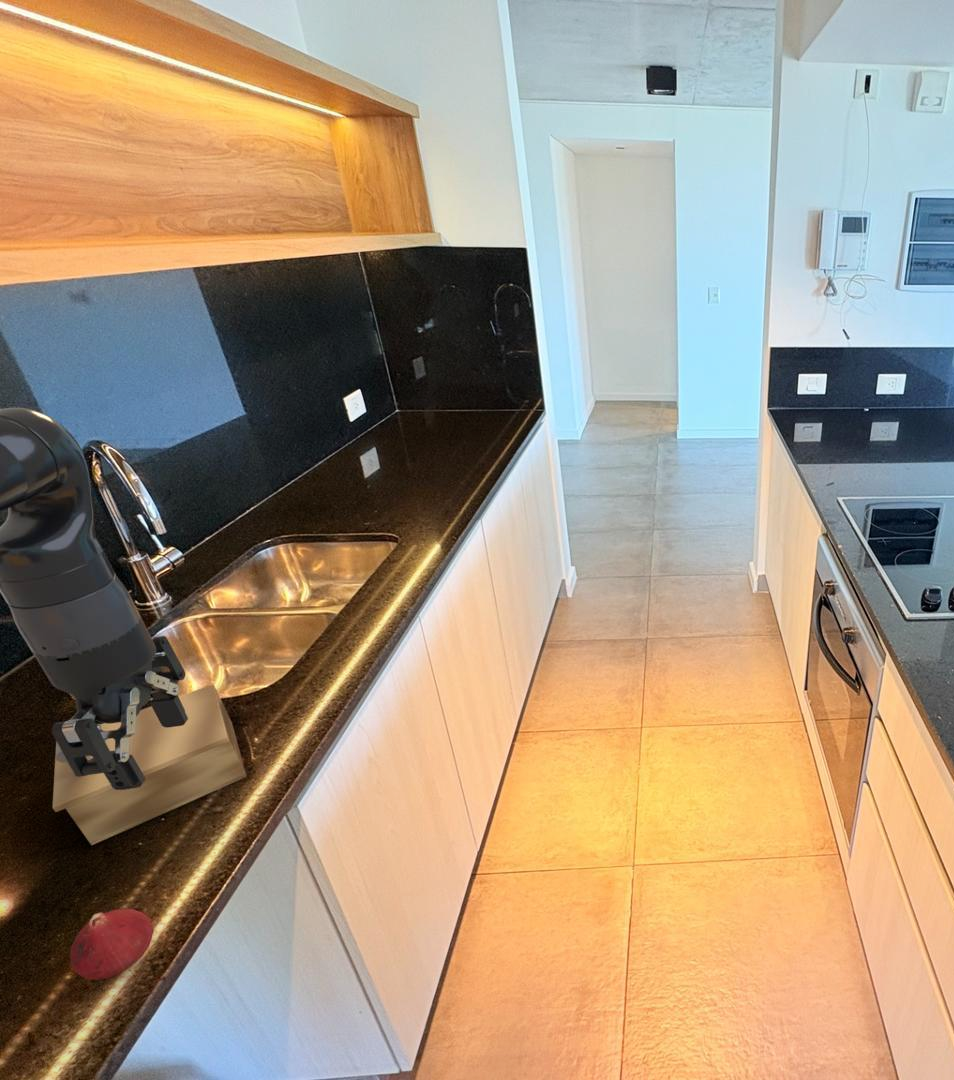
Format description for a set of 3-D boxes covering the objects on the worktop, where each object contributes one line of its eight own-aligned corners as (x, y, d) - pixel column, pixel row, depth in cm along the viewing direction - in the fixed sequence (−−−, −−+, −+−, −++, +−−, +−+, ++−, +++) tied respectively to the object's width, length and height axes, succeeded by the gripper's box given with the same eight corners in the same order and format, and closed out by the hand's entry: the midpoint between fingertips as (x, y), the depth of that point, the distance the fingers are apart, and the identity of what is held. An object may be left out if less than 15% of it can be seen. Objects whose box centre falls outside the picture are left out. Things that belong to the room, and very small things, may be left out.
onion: (115, 1005, 60) (76, 958, 56) (76, 983, 61) (35, 937, 57) (178, 945, 64) (146, 899, 61) (141, 927, 66) (107, 880, 62)
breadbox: (92, 847, 74) (65, 809, 71) (91, 778, 83) (67, 741, 80) (247, 778, 84) (229, 741, 80) (232, 723, 92) (215, 688, 89)
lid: (55, 812, 70) (33, 782, 68) (59, 744, 79) (39, 715, 77) (229, 741, 80) (215, 712, 78) (215, 688, 89) (202, 660, 87)
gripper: (86, 591, 62) (150, 712, 70) (-26, 684, 50) (67, 817, 58) (173, 584, 64) (226, 702, 72) (85, 671, 52) (161, 802, 59)
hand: (155, 753), depth 65 cm, fingers open, 8 cm apart
